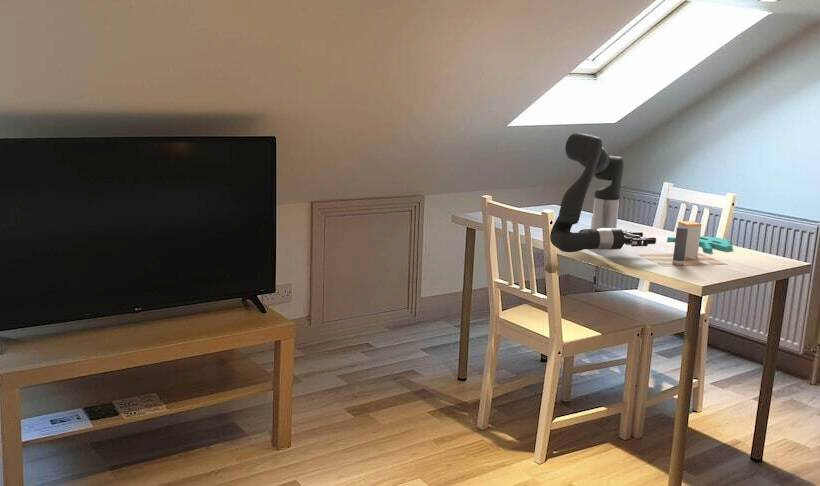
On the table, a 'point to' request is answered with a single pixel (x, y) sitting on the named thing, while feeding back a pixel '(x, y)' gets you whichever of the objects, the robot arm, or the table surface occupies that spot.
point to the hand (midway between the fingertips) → (648, 237)
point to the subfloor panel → (688, 261)
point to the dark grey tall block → (680, 246)
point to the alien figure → (710, 243)
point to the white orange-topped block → (691, 237)
